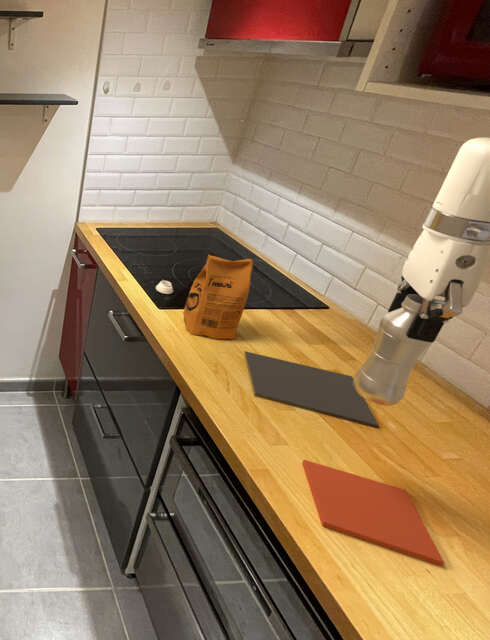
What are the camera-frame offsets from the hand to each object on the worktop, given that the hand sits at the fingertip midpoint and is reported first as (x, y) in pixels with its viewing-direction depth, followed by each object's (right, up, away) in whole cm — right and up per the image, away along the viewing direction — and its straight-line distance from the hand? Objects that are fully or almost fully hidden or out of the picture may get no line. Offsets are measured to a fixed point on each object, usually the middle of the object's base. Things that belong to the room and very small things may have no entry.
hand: (409, 326), depth 72 cm
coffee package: (-5, -11, +50) cm, 52 cm away
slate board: (+6, -20, +30) cm, 37 cm away
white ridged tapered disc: (-8, -2, +69) cm, 69 cm away
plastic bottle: (0, -14, +6) cm, 15 cm away
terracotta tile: (-4, -32, +3) cm, 32 cm away
